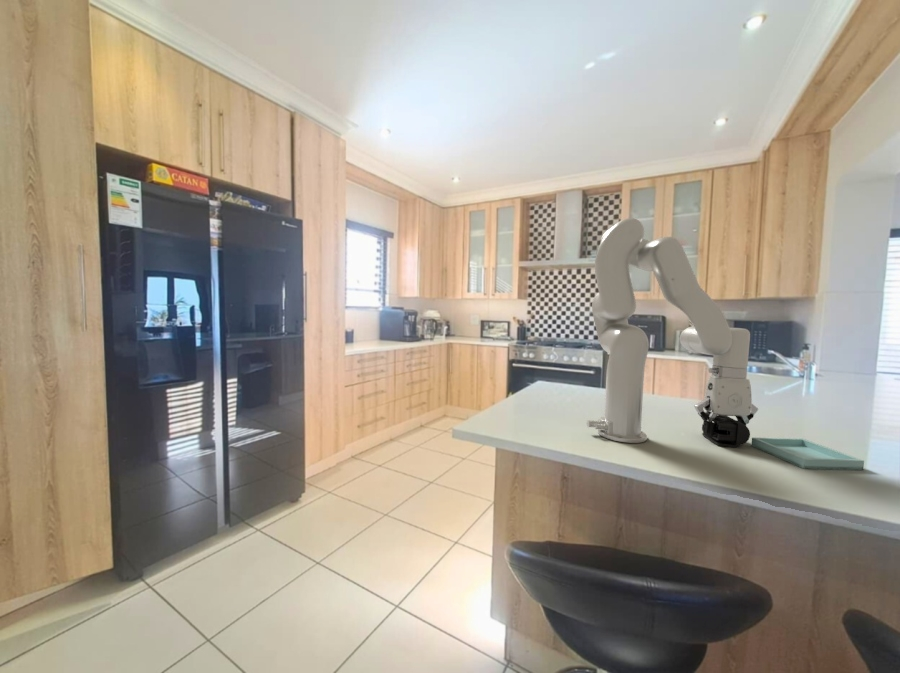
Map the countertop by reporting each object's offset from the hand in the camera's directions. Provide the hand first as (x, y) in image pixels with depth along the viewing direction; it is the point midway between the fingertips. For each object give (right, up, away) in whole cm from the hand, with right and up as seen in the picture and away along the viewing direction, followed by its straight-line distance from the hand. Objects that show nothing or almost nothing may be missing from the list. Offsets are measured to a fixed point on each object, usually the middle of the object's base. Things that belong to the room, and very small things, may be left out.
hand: (723, 435), depth 101 cm
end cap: (0, -2, 0) cm, 2 cm away
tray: (+12, -3, -10) cm, 16 cm away
